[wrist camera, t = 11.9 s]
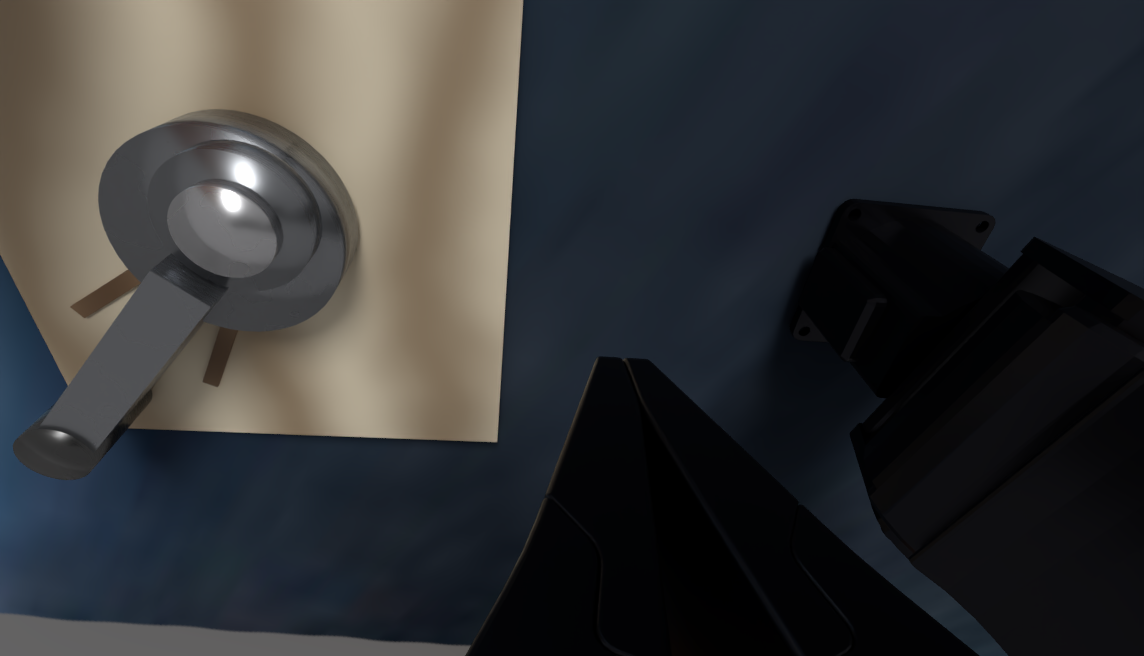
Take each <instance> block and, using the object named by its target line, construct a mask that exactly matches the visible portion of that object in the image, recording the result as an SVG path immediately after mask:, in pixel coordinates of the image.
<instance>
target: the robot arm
mask: <svg viewBox="0 0 1144 656" xmlns="http://www.w3.org/2000/svg"><path fill="white" fill-rule="evenodd" d="M853 209H856V212H855V213H854V215H852V216H851V217H848V214H849V213H850V212H851V211H852V210H853ZM981 222H982V223H981ZM979 223H981V224H980V226H979V227H977V228H976V226H977V225H978V224H979ZM994 226H995V219H994V217H993V216H991V215H989V214H987V213H985V212H982V211H973V210H963V209H953V208H943V207H932V206H922V205H912V204H902V203H892V202H881V201H871V200H861V199H850V200H847V201H845V202H844V203H843V204H842V205H841V206H840V207H839V209H838V211H837V213H836V216H835V218H834V221H833V223H832V225H831V228H830V230H829V233H828V235H827V238H826V240H825V242H824V245H823V247H822V249H821V251H820V252H819V253H818V254H817V257H816V259H815V262H814V264H813V267H812V269H811V272H810V274H809V276H808V279H807V281H806V284H805V286H804V289H803V291H802V294H801V296H800V298H799V301H798V303H799V306H798V308H797V311H796V313H795V315H794V318H793V320H792V323H791V325H790V332H791V333H792V335H793V336H794V338H796V339H797V340H801V341H817V342H828V343H829V344H830V345H831V346H832V348H833V349H834V350H835V351H836V353H837V354H838V355H839V357H840V358H841V359H842V360H843V361H845V362H850V363H851V364H852V366H853V367H854V368H855V369H856V371H857V372H858V373H859V374H860V376H861V377H862V378H863V379H864V381H865V382H866V383H867V384H868V386H869V387H870V388H871V389H872V391H873V392H874V393H875V394H876V396H877V397H880V398H886V399H885V400H884V402H883V403H882V404H881V405H880V406H879V407H878V408H877V409H876V410H875V411H874V412H873V413H872V414H871V415H870V416H869V417H868V418H867V420H866V421H865V422H864V423H863V424H862V423H859V424H858V425H857V426H856V427H855V428H854V429H853V430H852V431H851V432H850V437H851V441H852V444H853V447H854V450H855V454H856V457H857V460H858V463H859V467H860V470H861V473H862V476H863V480H864V483H865V486H866V489H867V493H868V496H869V499H870V502H871V506H872V509H873V511H874V514H875V516H876V518H877V521H878V522H879V524H880V526H881V529H882V531H883V533H884V534H885V536H886V537H887V538H888V539H890V540H891V541H892V542H893V544H894V545H895V546H896V547H897V548H898V549H899V550H900V551H901V552H902V553H903V554H904V555H905V556H906V557H907V558H908V559H909V561H910V563H911V564H912V565H913V566H914V567H915V568H916V569H917V570H919V571H920V572H921V573H923V574H924V575H925V576H926V577H928V578H929V579H930V580H932V581H933V582H934V583H936V584H937V585H938V586H940V587H941V588H942V589H943V590H945V591H946V592H947V593H948V594H949V595H950V596H951V597H953V598H954V599H955V600H956V601H957V602H958V603H959V604H960V605H961V606H962V607H963V608H964V609H965V610H966V611H968V612H969V613H970V614H971V615H972V616H973V617H974V618H975V619H976V620H977V621H978V622H979V623H980V624H981V625H982V626H983V628H984V629H985V630H986V631H987V632H988V633H989V634H990V635H991V636H992V637H993V638H994V639H995V641H996V642H997V643H998V644H999V645H1000V646H1001V648H1002V649H1003V650H1004V651H1005V652H1006V653H1007V654H1008V656H1144V289H1143V288H1141V287H1139V286H1137V285H1135V284H1133V283H1131V282H1129V281H1127V280H1125V279H1123V278H1121V277H1118V276H1116V275H1114V274H1112V273H1110V272H1108V271H1106V270H1104V269H1102V268H1099V267H1097V266H1095V265H1093V264H1091V263H1089V262H1087V261H1085V260H1083V259H1081V258H1078V257H1076V256H1074V255H1072V254H1070V253H1068V252H1066V251H1064V250H1062V249H1060V248H1057V247H1055V246H1053V245H1051V244H1049V243H1047V242H1045V241H1043V240H1041V239H1038V238H1036V237H1034V238H1033V239H1032V240H1031V241H1030V242H1029V243H1028V244H1027V245H1026V246H1025V247H1024V248H1023V249H1022V250H1021V251H1020V252H1022V253H1023V255H1022V256H1021V257H1020V258H1019V259H1018V260H1017V261H1016V262H1015V263H1014V264H1013V265H1012V266H1011V267H1010V268H1007V267H1006V266H1004V265H1003V264H1001V263H1000V262H998V261H997V260H995V259H993V258H992V257H990V256H989V255H987V254H986V253H984V252H983V251H981V248H982V247H983V245H984V243H985V242H986V240H987V238H988V237H989V235H990V233H991V231H992V230H993V228H994ZM803 327H806V328H805V329H804V330H802V331H799V330H800V329H801V328H803ZM465 656H979V655H978V654H977V653H975V652H974V651H973V650H972V649H970V648H969V647H968V646H967V645H966V644H964V643H963V642H962V641H961V640H959V639H958V638H957V637H956V636H955V635H953V634H952V633H951V632H950V631H948V630H947V629H946V628H945V627H943V626H942V625H941V624H940V623H939V622H937V621H936V620H935V619H934V618H932V617H931V616H930V615H929V614H928V613H926V612H925V611H924V610H923V609H921V608H920V607H919V606H918V605H916V604H915V603H914V602H913V601H912V600H910V599H909V598H908V597H907V596H905V595H904V594H903V593H902V592H901V591H899V590H898V589H897V588H896V587H894V586H893V585H892V584H891V583H890V582H889V581H887V580H886V579H885V578H884V577H883V576H881V575H880V574H879V573H878V572H877V571H875V570H874V569H873V568H872V567H871V566H870V565H868V564H867V563H866V562H865V561H864V560H862V559H861V558H860V557H859V556H858V555H856V554H855V553H854V552H853V551H852V550H851V549H850V548H849V547H848V546H847V545H845V544H844V543H843V542H842V541H841V540H840V539H839V538H838V537H837V536H836V535H834V534H833V533H832V532H831V531H830V530H829V529H828V528H827V527H826V526H825V525H823V524H822V523H821V522H820V521H819V520H818V519H817V518H816V517H815V516H814V515H813V514H812V513H811V512H810V511H809V510H808V509H807V508H805V507H804V506H803V505H798V500H797V499H796V498H795V497H794V496H793V495H791V494H790V493H789V492H788V491H787V490H786V489H785V488H784V487H783V486H782V485H781V484H780V483H779V482H778V481H777V480H776V479H775V478H773V477H772V476H771V475H770V474H769V473H768V472H767V471H766V470H765V469H764V468H763V467H762V466H761V465H760V464H759V463H758V462H757V461H756V460H754V459H753V458H752V457H751V456H750V455H749V454H748V453H747V452H746V451H745V450H744V449H743V448H742V447H741V446H740V445H739V444H738V443H736V442H735V441H734V440H733V439H732V438H731V437H730V436H729V435H728V434H727V433H726V432H725V431H724V430H723V429H722V428H721V427H720V426H719V425H717V424H716V423H715V422H714V421H713V420H712V419H711V418H710V417H709V416H708V415H707V414H706V413H705V412H704V411H703V410H702V409H701V408H700V407H698V406H697V405H696V404H695V403H694V402H693V401H692V400H691V399H690V398H689V397H688V396H687V395H686V394H685V393H684V392H683V391H682V390H680V389H679V388H678V387H677V386H676V385H675V384H674V383H673V382H672V381H671V380H670V379H669V378H668V377H667V376H666V375H665V374H664V373H663V372H661V371H660V370H659V369H658V368H657V367H656V366H655V365H654V364H653V363H652V362H651V361H649V360H647V359H637V358H625V359H624V360H622V359H621V358H618V357H602V356H600V357H597V359H596V361H595V363H594V366H593V369H592V371H591V374H590V377H589V379H588V382H587V385H586V387H585V390H584V393H583V395H582V398H581V401H580V403H579V406H578V409H577V411H576V414H575V417H574V419H573V422H572V425H571V427H570V430H569V433H568V435H567V438H566V441H565V443H564V446H563V449H562V451H561V454H560V457H559V459H558V462H557V465H556V468H555V470H554V473H553V476H552V478H551V481H550V484H549V486H548V489H547V492H546V494H545V499H544V500H543V501H542V504H541V507H540V509H539V512H538V515H537V517H536V520H535V523H534V525H533V527H532V530H531V532H530V534H529V537H528V539H527V542H526V544H525V546H524V549H523V551H522V553H521V555H520V557H519V559H518V561H517V563H516V565H515V567H514V569H513V571H512V572H511V574H510V576H509V578H508V580H507V582H506V584H505V586H504V588H503V590H502V592H501V593H500V595H499V597H498V599H497V601H496V602H495V604H494V606H493V608H492V609H491V611H490V613H489V615H488V616H487V618H486V620H485V622H484V624H483V625H482V627H481V629H480V631H479V632H478V634H477V636H476V638H475V639H474V641H473V643H472V645H471V647H470V648H469V650H468V652H467V654H466V655H465Z"/></svg>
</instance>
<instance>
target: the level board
mask: <svg viewBox="0 0 1144 656" xmlns="http://www.w3.org/2000/svg"><path fill="white" fill-rule="evenodd" d="M522 14H523V0H0V255H1V257H2V259H3V261H4V263H5V265H6V267H7V269H8V270H9V272H10V274H11V276H12V278H13V280H14V282H15V284H16V286H17V288H18V290H19V292H20V294H21V296H22V298H23V300H24V301H25V303H26V305H27V307H28V309H29V311H30V313H31V315H32V317H33V319H34V321H35V323H36V325H37V327H38V329H39V331H40V332H41V334H42V336H43V338H44V340H45V342H46V344H47V346H48V348H49V350H50V352H51V354H52V356H53V358H54V360H55V362H56V363H57V365H58V367H59V369H60V371H61V373H62V375H63V377H64V379H65V381H66V383H67V385H69V384H70V383H71V381H72V380H73V378H74V377H75V376H76V374H77V373H78V371H79V370H80V368H81V367H82V366H83V364H84V363H85V361H86V360H87V359H88V357H89V356H90V354H91V353H92V352H93V350H94V349H95V347H96V346H97V344H98V343H99V342H100V340H101V339H102V337H103V336H104V335H105V333H106V332H107V330H108V329H109V328H110V326H111V325H112V323H113V322H114V320H115V319H116V318H117V316H118V315H119V313H120V312H121V311H122V309H123V308H124V306H125V305H126V304H127V302H128V301H129V299H130V298H131V296H132V295H133V294H134V292H135V291H136V289H137V288H138V287H139V285H140V284H141V282H140V281H139V280H138V279H136V277H135V276H134V275H133V274H132V273H131V272H130V271H129V270H128V268H127V267H126V266H125V265H124V263H123V262H122V261H121V259H120V258H119V257H118V255H117V254H116V252H115V250H114V248H113V247H112V245H111V243H110V241H109V239H108V237H107V235H106V232H105V230H104V227H103V224H102V220H101V216H100V212H99V203H98V192H99V183H100V179H101V175H102V172H103V170H104V168H105V166H106V164H107V161H108V160H109V159H110V157H111V156H112V155H113V153H114V152H115V151H116V150H117V149H118V148H119V147H120V146H121V145H123V144H124V143H125V142H126V141H128V140H129V139H131V138H133V137H134V136H136V135H138V134H140V133H142V132H145V131H147V130H149V129H152V128H154V127H156V126H158V125H161V124H163V123H165V122H167V121H170V120H172V119H174V118H176V117H179V116H182V115H184V114H187V113H190V112H195V111H200V110H209V109H225V110H236V111H241V112H246V113H250V114H253V115H256V116H260V117H263V118H266V119H268V120H270V121H272V122H275V123H277V124H279V125H281V126H283V127H285V128H286V129H288V130H290V131H292V132H293V133H295V134H297V135H298V136H299V137H301V138H302V139H303V140H305V141H306V142H308V143H309V144H310V145H311V146H312V147H313V148H315V149H316V150H317V151H318V152H319V153H320V154H321V155H322V156H323V157H324V158H325V159H326V160H327V161H328V163H329V164H330V165H331V166H332V167H333V169H334V170H335V171H336V173H337V174H338V175H339V177H340V178H341V180H342V182H343V183H344V185H345V187H346V189H347V190H348V193H349V195H350V197H351V200H352V202H353V205H354V209H355V212H356V216H357V224H358V242H357V248H356V252H355V255H354V258H353V261H352V263H351V265H350V267H349V268H348V270H347V272H346V274H345V275H344V277H343V279H342V280H341V282H340V284H339V285H338V287H337V289H336V290H335V292H334V294H333V296H332V297H331V299H330V300H329V301H328V302H327V304H326V305H325V306H324V307H323V308H322V309H321V310H320V311H319V312H318V313H317V314H315V315H314V316H312V317H311V318H309V319H308V320H306V321H303V322H301V323H299V324H297V325H294V326H291V327H288V328H285V329H279V330H274V331H262V332H255V331H241V330H233V329H228V328H224V327H219V326H216V325H213V324H210V323H206V322H204V324H203V325H202V326H201V327H200V329H199V330H198V331H197V332H196V334H195V335H194V336H193V337H192V339H191V340H190V341H189V342H188V344H187V345H186V346H185V347H184V348H183V350H182V351H181V352H180V353H179V355H178V356H177V357H176V358H175V360H174V361H173V362H172V363H171V365H170V366H169V367H168V368H167V370H166V371H165V372H164V373H163V374H162V376H161V377H160V378H159V379H158V381H157V382H156V383H155V384H154V386H153V387H152V388H151V390H152V395H153V396H152V400H151V402H150V403H149V404H148V406H147V407H146V408H145V409H144V410H143V411H142V413H141V414H140V415H139V416H138V417H137V418H136V419H135V421H134V422H133V423H132V424H131V425H130V426H129V428H135V429H161V430H188V431H214V432H240V433H267V434H293V435H320V436H346V437H372V438H399V439H425V440H452V441H478V442H497V437H498V421H499V404H500V387H501V371H502V354H503V337H504V320H505V303H506V286H507V269H508V252H509V235H510V218H511V201H512V184H513V167H514V150H515V133H516V116H517V99H518V82H519V65H520V48H521V31H522Z"/></svg>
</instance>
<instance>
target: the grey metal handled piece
mask: <svg viewBox="0 0 1144 656" xmlns="http://www.w3.org/2000/svg"><path fill="white" fill-rule="evenodd" d="M98 203H99V212H100V216H101V220H102V224H103V227H104V230H105V232H106V235H107V237H108V239H109V241H110V243H111V245H112V247H113V248H114V250H115V252H116V254H117V255H118V257H119V258H120V259H121V261H122V262H123V263H124V265H125V266H126V267H127V268H128V270H129V271H130V272H131V273H132V274H133V275H134V276H135V277H136V279H138V280H139V281H140V282H141V284H140V285H139V287H138V288H137V289H136V291H135V292H134V294H133V295H132V296H131V298H130V299H129V301H128V302H127V304H126V305H125V306H124V308H123V309H122V311H121V312H120V313H119V315H118V316H117V318H116V319H115V320H114V322H113V323H112V325H111V326H110V328H109V329H108V330H107V332H106V333H105V335H104V336H103V337H102V339H101V340H100V342H99V343H98V344H97V346H96V347H95V349H94V350H93V352H92V353H91V354H90V356H89V357H88V359H87V360H86V361H85V363H84V364H83V366H82V367H81V368H80V370H79V371H78V373H77V374H76V376H75V377H74V378H73V380H72V381H71V383H70V384H69V385H68V387H67V388H66V390H65V391H64V392H63V394H62V395H61V397H60V398H59V399H58V401H57V402H56V403H55V404H54V405H53V406H52V407H51V408H50V409H48V410H47V411H46V412H45V413H44V414H43V415H42V416H41V417H40V418H39V419H38V420H37V421H36V422H34V423H33V424H32V425H31V426H30V427H29V428H28V429H27V430H26V431H25V432H24V433H23V434H22V435H20V436H19V437H18V438H17V439H16V440H15V442H14V444H13V451H14V453H15V455H16V457H17V458H18V459H19V460H20V462H22V463H23V464H24V465H25V466H26V467H28V468H30V469H31V470H33V471H35V472H37V473H39V474H42V475H44V476H47V477H51V478H55V479H62V480H74V479H79V478H82V477H85V476H86V475H88V474H89V473H90V472H91V470H92V469H93V468H94V467H95V466H96V465H97V464H98V462H99V461H100V460H101V459H102V458H103V457H104V455H105V454H106V453H107V452H108V451H109V450H110V448H111V447H112V446H113V445H114V444H115V443H116V441H117V440H118V439H119V438H120V437H121V436H122V435H123V433H124V432H125V431H126V430H127V429H128V428H129V426H130V425H131V424H132V423H133V422H134V421H135V419H136V418H137V417H138V416H139V415H140V414H141V413H142V411H143V410H144V409H145V408H146V407H147V406H148V404H149V403H150V402H151V400H152V396H153V395H152V390H151V388H152V387H153V386H154V384H155V383H156V382H157V381H158V379H159V378H160V377H161V376H162V374H163V373H164V372H165V371H166V370H167V368H168V367H169V366H170V365H171V363H172V362H173V361H174V360H175V358H176V357H177V356H178V355H179V353H180V352H181V351H182V350H183V348H184V347H185V346H186V345H187V344H188V342H189V341H190V340H191V339H192V337H193V336H194V335H195V334H196V332H197V331H198V330H199V329H200V327H201V326H202V325H203V324H204V322H206V323H210V324H213V325H216V326H219V327H224V328H228V329H233V330H241V331H255V332H262V331H274V330H279V329H285V328H288V327H291V326H294V325H297V324H299V323H301V322H303V321H306V320H308V319H309V318H311V317H312V316H314V315H315V314H317V313H318V312H319V311H320V310H321V309H322V308H323V307H324V306H325V305H326V304H327V302H328V301H329V300H330V299H331V297H332V296H333V294H334V292H335V290H336V289H337V287H338V285H339V284H340V282H341V280H342V279H343V277H344V275H345V274H346V272H347V270H348V268H349V267H350V265H351V263H352V261H353V258H354V255H355V252H356V248H357V242H358V224H357V216H356V212H355V209H354V205H353V202H352V200H351V197H350V195H349V193H348V190H347V189H346V187H345V185H344V183H343V182H342V180H341V178H340V177H339V175H338V174H337V173H336V171H335V170H334V169H333V167H332V166H331V165H330V164H329V163H328V161H327V160H326V159H325V158H324V157H323V156H322V155H321V154H320V153H319V152H318V151H317V150H316V149H315V148H313V147H312V146H311V145H310V144H309V143H308V142H306V141H305V140H303V139H302V138H301V137H299V136H298V135H297V134H295V133H293V132H292V131H290V130H288V129H286V128H285V127H283V126H281V125H279V124H277V123H275V122H272V121H270V120H268V119H266V118H263V117H260V116H256V115H253V114H250V113H246V112H241V111H236V110H225V109H209V110H200V111H195V112H190V113H187V114H184V115H182V116H179V117H176V118H174V119H172V120H170V121H167V122H165V123H163V124H161V125H158V126H156V127H154V128H152V129H149V130H147V131H145V132H142V133H140V134H138V135H136V136H134V137H133V138H131V139H129V140H128V141H126V142H125V143H124V144H123V145H121V146H120V147H119V148H118V149H117V150H116V151H115V152H114V153H113V155H112V156H111V157H110V159H109V160H108V161H107V164H106V166H105V168H104V170H103V172H102V175H101V179H100V183H99V192H98Z"/></svg>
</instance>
